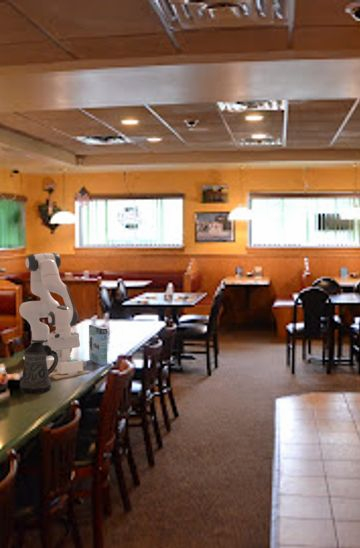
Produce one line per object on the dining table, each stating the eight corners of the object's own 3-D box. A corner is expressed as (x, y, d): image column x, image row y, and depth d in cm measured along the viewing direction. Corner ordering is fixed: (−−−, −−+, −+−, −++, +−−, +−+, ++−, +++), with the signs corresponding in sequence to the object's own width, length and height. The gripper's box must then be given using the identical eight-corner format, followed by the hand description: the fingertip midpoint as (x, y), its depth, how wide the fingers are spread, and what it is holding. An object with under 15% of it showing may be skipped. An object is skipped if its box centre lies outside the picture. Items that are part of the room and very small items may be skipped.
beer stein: (13, 390, 335) (12, 343, 333) (45, 383, 349) (44, 338, 347) (30, 395, 323) (29, 347, 321) (62, 388, 337) (61, 342, 335)
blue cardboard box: (89, 359, 409) (88, 324, 407) (96, 359, 411) (95, 324, 410) (100, 365, 392) (99, 329, 390) (108, 364, 394) (107, 328, 393)
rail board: (39, 373, 374) (39, 359, 373) (72, 367, 387) (72, 353, 387) (55, 379, 358) (55, 364, 358) (89, 372, 372) (89, 358, 371)
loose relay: (75, 367, 387) (75, 363, 387) (81, 365, 393) (81, 361, 392) (80, 368, 386) (80, 363, 385) (86, 366, 391) (86, 361, 391)
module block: (58, 361, 372) (58, 347, 372) (65, 360, 376) (65, 346, 375) (62, 363, 369) (62, 349, 368) (70, 361, 372) (69, 348, 371)
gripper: (76, 330, 380) (76, 353, 381) (45, 334, 367) (46, 358, 368) (81, 332, 375) (82, 355, 376) (50, 336, 362) (51, 359, 363)
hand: (64, 356), depth 372 cm, fingers closed on module block, 5 cm apart
